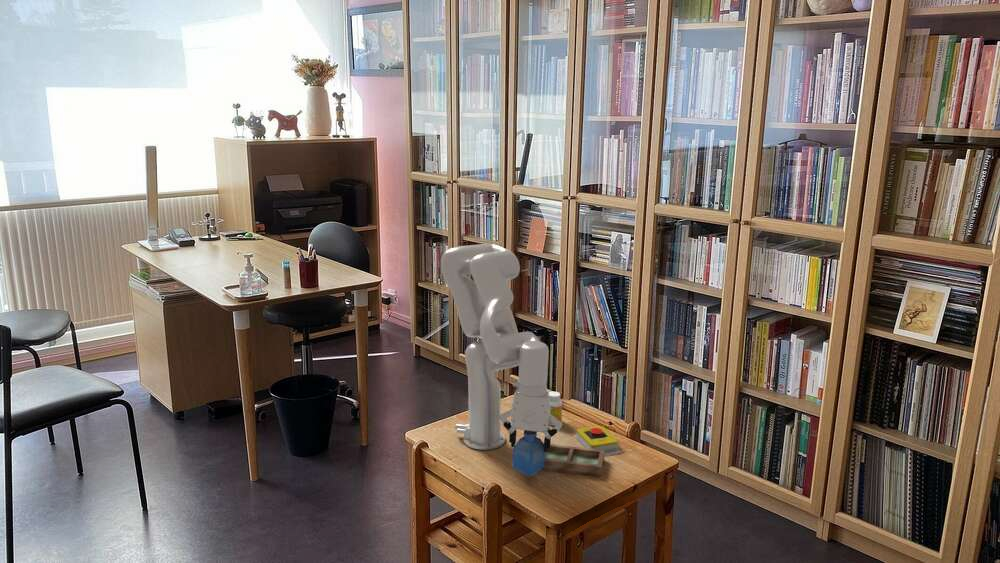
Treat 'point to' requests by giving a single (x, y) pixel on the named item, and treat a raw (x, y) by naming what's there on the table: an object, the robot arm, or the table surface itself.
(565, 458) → the organizer
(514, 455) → the perfume bottle
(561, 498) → the table surface
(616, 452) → the emergency button
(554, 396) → the supplement bottle
